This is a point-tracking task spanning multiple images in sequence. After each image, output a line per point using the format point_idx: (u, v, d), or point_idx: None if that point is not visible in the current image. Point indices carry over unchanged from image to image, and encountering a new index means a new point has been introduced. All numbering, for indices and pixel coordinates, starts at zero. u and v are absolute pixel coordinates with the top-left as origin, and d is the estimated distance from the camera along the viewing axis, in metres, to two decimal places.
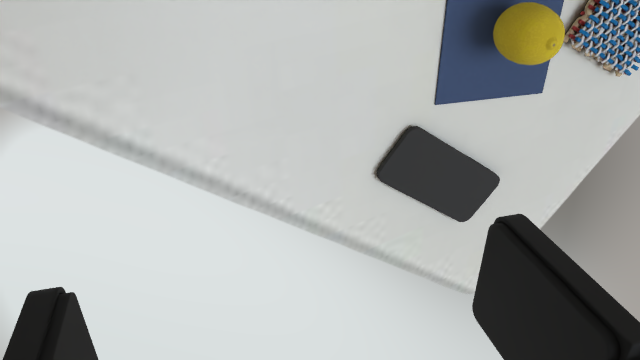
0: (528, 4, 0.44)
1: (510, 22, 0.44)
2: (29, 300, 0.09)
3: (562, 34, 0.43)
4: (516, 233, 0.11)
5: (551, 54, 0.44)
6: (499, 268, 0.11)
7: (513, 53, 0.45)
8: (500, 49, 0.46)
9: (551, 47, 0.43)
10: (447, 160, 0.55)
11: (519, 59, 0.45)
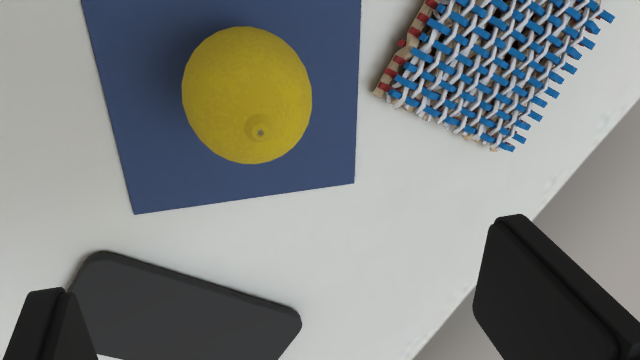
0: (229, 32, 0.20)
1: (187, 72, 0.20)
2: (29, 300, 0.09)
3: (289, 105, 0.19)
4: (516, 233, 0.11)
5: (272, 148, 0.19)
6: (499, 268, 0.11)
7: None
8: None
9: (257, 137, 0.18)
10: (186, 303, 0.31)
11: (217, 154, 0.20)
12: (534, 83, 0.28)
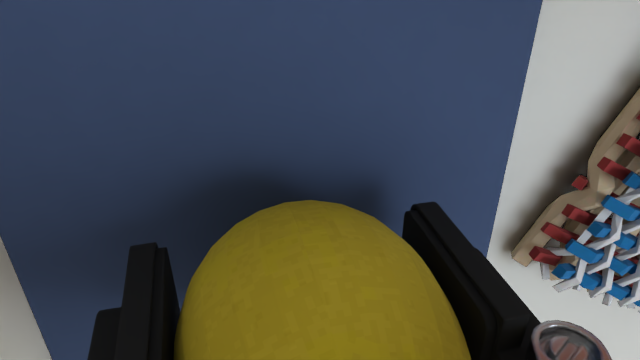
0: (288, 251, 0.08)
1: (186, 350, 0.08)
2: (132, 252, 0.10)
3: None
4: (424, 219, 0.11)
5: None
6: None
7: None
8: None
9: None
10: None
11: None
12: None
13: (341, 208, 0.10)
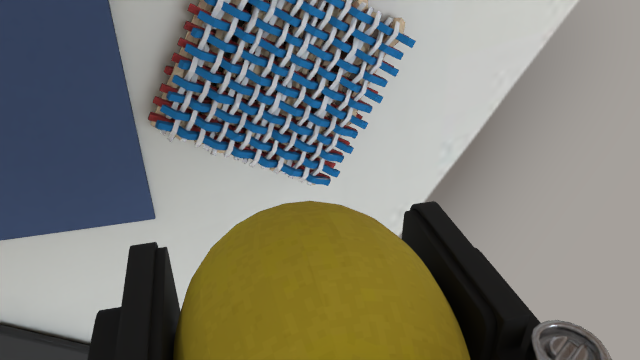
0: (287, 252, 0.08)
1: (186, 351, 0.08)
2: (132, 252, 0.10)
3: None
4: (424, 219, 0.11)
5: None
6: None
7: None
8: None
9: None
10: None
11: None
12: (333, 113, 0.25)
13: (341, 209, 0.10)
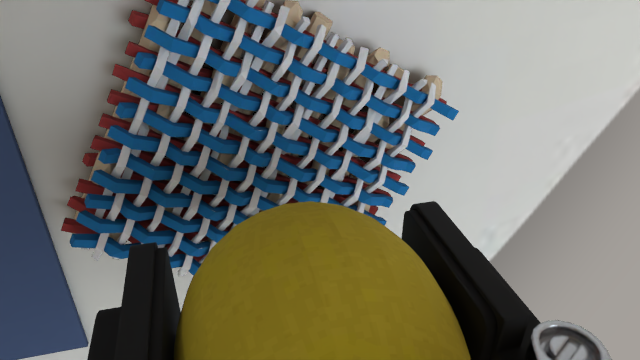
0: (288, 253, 0.08)
1: (186, 352, 0.08)
2: (132, 252, 0.10)
3: None
4: (424, 219, 0.11)
5: None
6: None
7: None
8: None
9: None
10: None
11: None
12: None
13: (341, 209, 0.10)
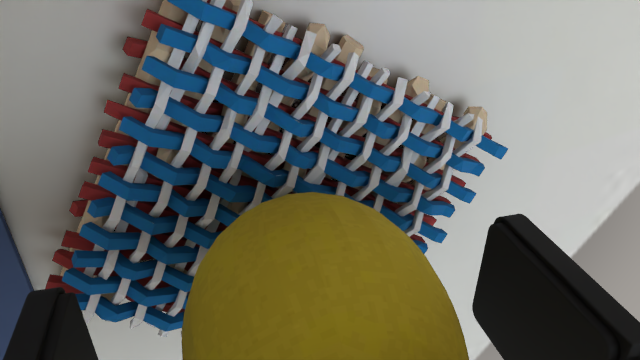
0: (291, 238, 0.09)
1: (194, 332, 0.09)
2: (29, 300, 0.09)
3: None
4: (516, 233, 0.11)
5: None
6: (499, 268, 0.11)
7: None
8: None
9: None
10: None
11: None
12: None
13: (341, 199, 0.10)
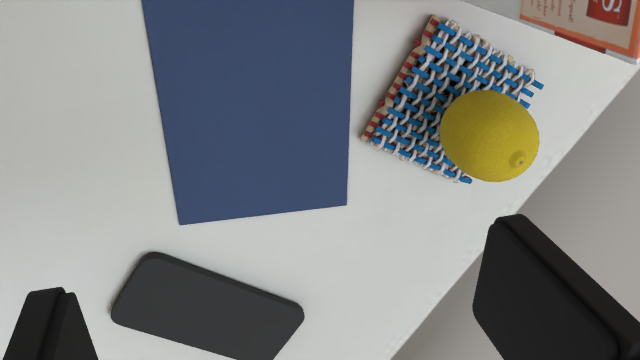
0: (486, 96, 0.30)
1: (459, 121, 0.30)
2: (29, 300, 0.09)
3: (534, 144, 0.29)
4: (516, 233, 0.11)
5: (519, 172, 0.29)
6: (499, 268, 0.11)
7: (464, 166, 0.30)
8: (448, 155, 0.32)
9: (517, 165, 0.28)
10: (215, 295, 0.39)
11: (472, 175, 0.31)
12: None
13: None
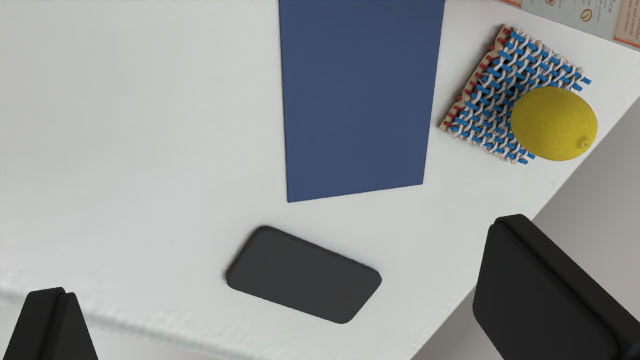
0: (553, 91, 0.37)
1: (532, 112, 0.37)
2: (29, 300, 0.09)
3: (595, 130, 0.36)
4: (516, 233, 0.11)
5: (581, 152, 0.37)
6: (499, 268, 0.11)
7: (535, 148, 0.38)
8: (519, 140, 0.39)
9: (583, 147, 0.36)
10: (311, 262, 0.47)
11: (542, 155, 0.38)
12: None
13: None
